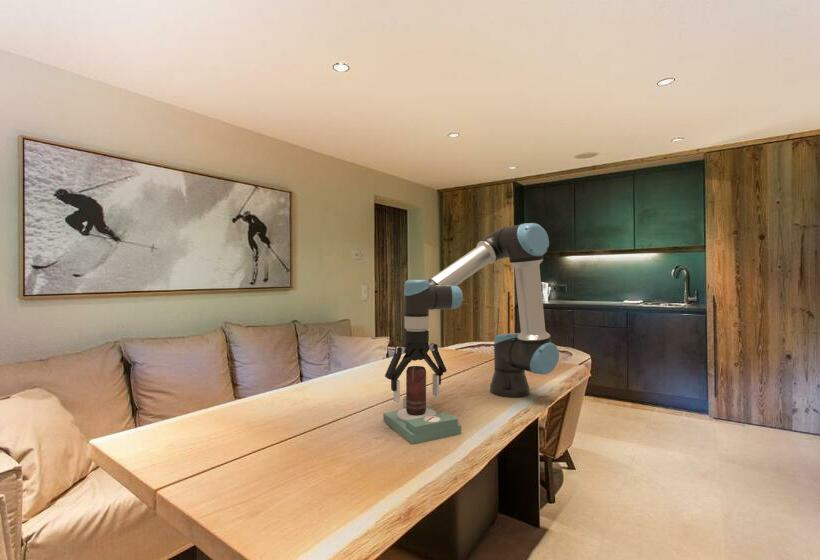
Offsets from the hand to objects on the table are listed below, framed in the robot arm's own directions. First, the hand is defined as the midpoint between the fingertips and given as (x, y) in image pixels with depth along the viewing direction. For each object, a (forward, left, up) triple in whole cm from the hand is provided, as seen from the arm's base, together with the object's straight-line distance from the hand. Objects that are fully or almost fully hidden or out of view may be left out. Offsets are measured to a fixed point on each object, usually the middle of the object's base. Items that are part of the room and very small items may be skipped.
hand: (416, 398), depth 125 cm
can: (0, 0, -5) cm, 5 cm away
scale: (0, +2, -8) cm, 8 cm away
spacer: (-4, -14, -8) cm, 16 cm away
